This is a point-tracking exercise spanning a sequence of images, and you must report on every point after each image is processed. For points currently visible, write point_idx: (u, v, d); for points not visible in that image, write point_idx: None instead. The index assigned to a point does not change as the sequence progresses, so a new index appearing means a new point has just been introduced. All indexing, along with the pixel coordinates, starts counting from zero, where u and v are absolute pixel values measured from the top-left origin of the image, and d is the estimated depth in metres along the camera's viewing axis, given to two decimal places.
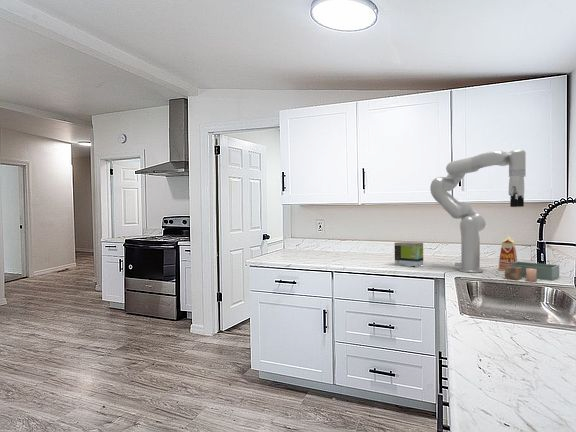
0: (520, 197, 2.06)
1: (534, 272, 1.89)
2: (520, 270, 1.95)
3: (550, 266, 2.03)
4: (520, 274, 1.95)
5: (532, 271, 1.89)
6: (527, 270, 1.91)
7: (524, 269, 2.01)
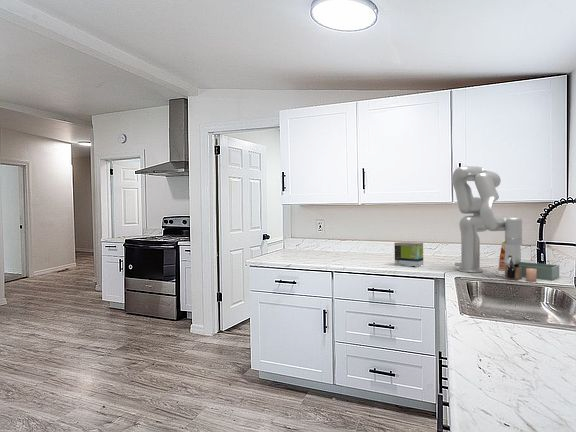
0: (515, 266, 1.99)
1: (534, 272, 1.89)
2: (520, 270, 1.95)
3: (550, 266, 2.03)
4: (520, 274, 1.95)
5: (532, 271, 1.89)
6: (527, 270, 1.91)
7: (524, 269, 2.01)
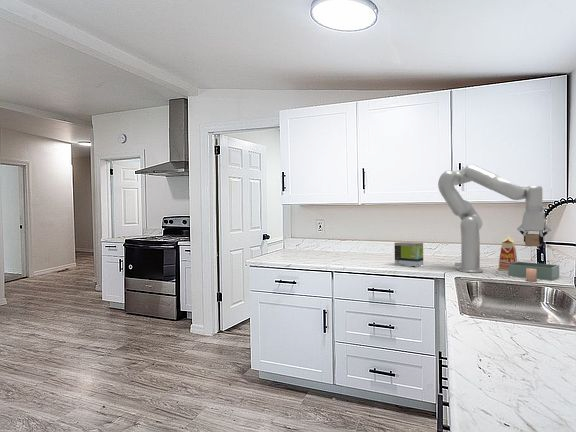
0: None
1: (534, 272, 1.89)
2: (533, 237, 2.00)
3: (550, 266, 2.03)
4: (533, 241, 2.00)
5: (532, 271, 1.89)
6: (527, 270, 1.91)
7: (524, 269, 2.01)
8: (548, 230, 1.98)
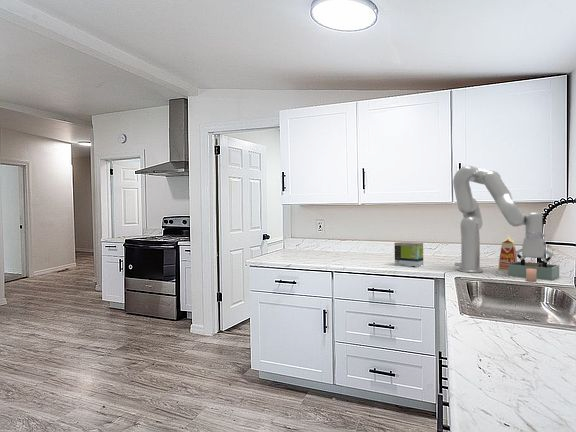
0: None
1: (534, 272, 1.89)
2: None
3: (550, 266, 2.03)
4: None
5: (532, 271, 1.89)
6: (527, 270, 1.91)
7: (524, 269, 2.01)
8: (550, 255, 1.97)
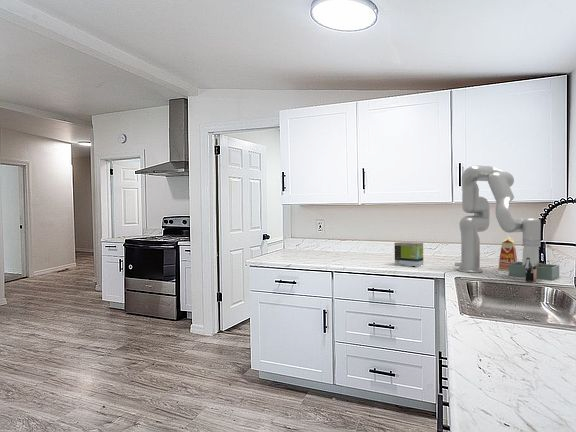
0: None
1: (534, 272, 1.89)
2: None
3: (550, 266, 2.03)
4: None
5: None
6: None
7: (524, 269, 2.01)
8: None
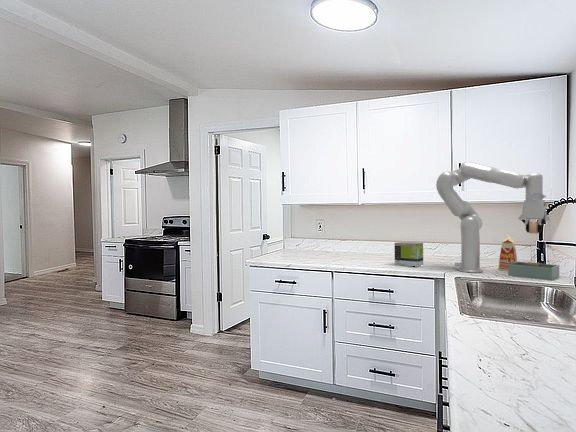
0: None
1: (530, 224, 2.02)
2: None
3: (550, 266, 2.03)
4: None
5: (529, 223, 2.03)
6: None
7: (524, 269, 2.01)
8: (547, 219, 1.98)
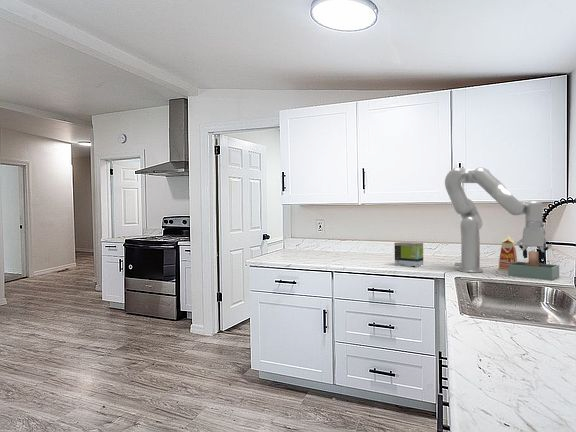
0: None
1: (529, 254, 2.03)
2: None
3: (550, 266, 2.03)
4: None
5: None
6: None
7: (524, 269, 2.01)
8: (549, 245, 1.98)
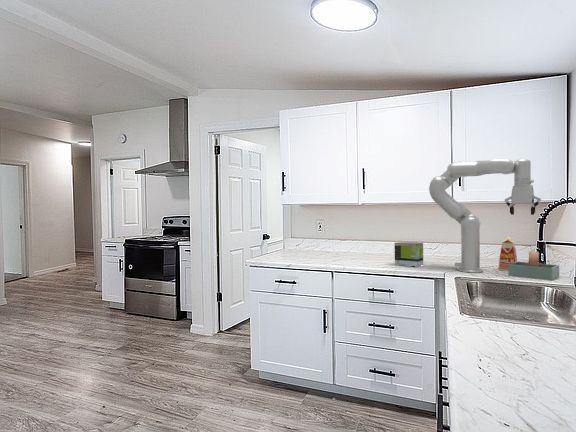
0: None
1: (529, 254, 2.03)
2: None
3: (550, 266, 2.03)
4: None
5: (529, 253, 2.04)
6: None
7: (524, 269, 2.01)
8: (538, 200, 2.02)
